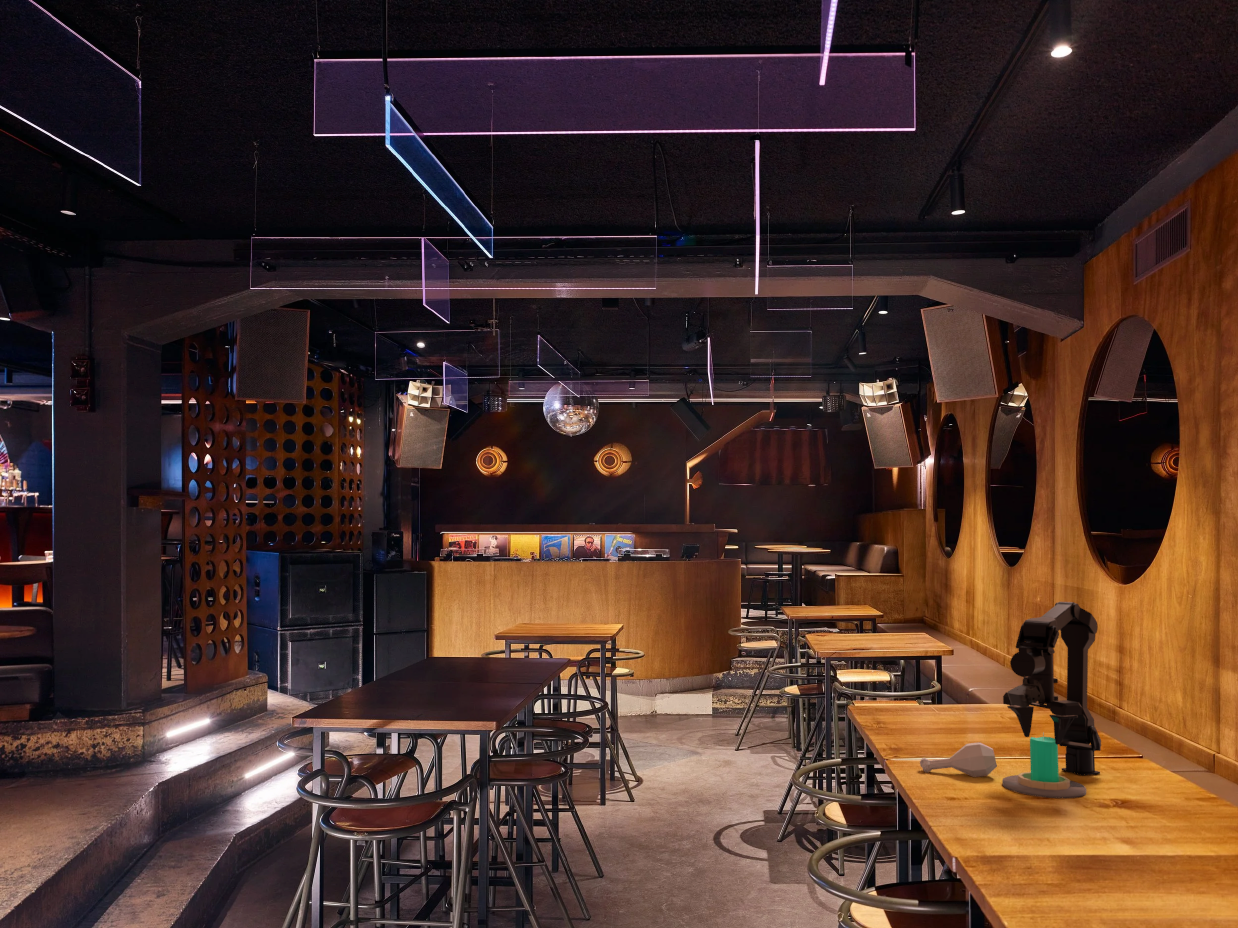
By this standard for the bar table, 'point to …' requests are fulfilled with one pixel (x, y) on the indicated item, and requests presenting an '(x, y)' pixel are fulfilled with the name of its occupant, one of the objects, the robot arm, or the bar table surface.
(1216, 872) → the bar table surface
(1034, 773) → the candle
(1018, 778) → the candle holder
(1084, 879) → the bar table surface
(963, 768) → the chicken leg
